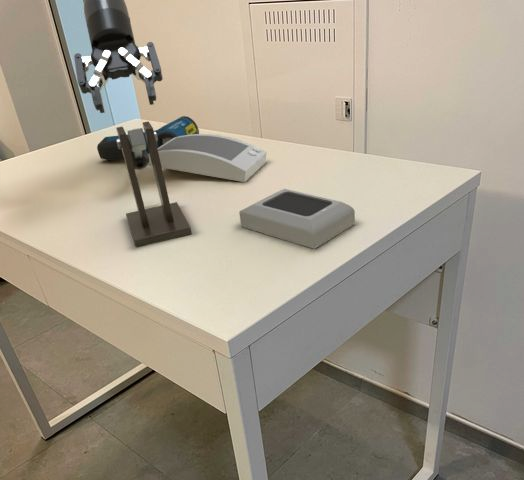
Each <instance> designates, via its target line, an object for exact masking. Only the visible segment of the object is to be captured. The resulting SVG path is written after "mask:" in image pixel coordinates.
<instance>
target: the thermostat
mask: <svg viewBox="0 0 524 480" xmlns="http://www.w3.org/2000/svg"><path fill="white" fill-rule="evenodd" d="M158 153H159V157H160V162H161V166H162V169H167V170H174V171H178V172H185V173H190V174H196V175H201V176H207V177H212V178H220V179H225V180H230V181H235V182H241V183H246V182H247V181H248V180H249V179H250V178H251V177H253V175H254V174H255V173H256V172H257V171H259V170H261V168H262V167H263V166H264V165H265V164H266V163H267V151H266V150H264V149H261V148H260V147H258V146H256V145H254V144H251V143H248V142H246V141H243V140H240V139H237V138H233V137H230V136H226V135H219V134H211V133H199V134H192V135H184V136H179V137H175V138H173V139H171V140H170V141H168V142H167V143H165V144H163V145H162V146H160V147H159V148H158ZM148 155H149V164H148V166H151V167H153V166H152V162H151V158H150V153H149V154H148Z"/></svg>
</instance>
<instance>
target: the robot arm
mask: <svg viewBox="0 0 524 480" xmlns="http://www.w3.org/2000/svg"><path fill="white" fill-rule="evenodd" d="M82 2H83V12H84V13H83V14H84V19H85V23H86V24H85V25H86V28H87V34H88V38H89V43H90V46H91V53H90V55H87V56H86V55H85V56H82V54H81V53H79V52H77V53H75V54H73V55H74V56H73V57H74V58H73V59H74V64H75V72H76V80H77V85H78V87H79V89H80V91H81V93H82V94H83V95H84V94H87V93H89V94H91V98H92V103H93V106H94V109H95V110H96V111H99V113H100V114H105V113H106V112H105V107H104V103H103V98H102V97H103V96H102V93H101V91H102V89H103V87H105V86H106V85H107V83H108V81H109V79H111V80H112V81H113V80H117V79H120V78H130V76H131V75H132V76H133V77H135V78H136V79H137V80H139V81H141V82H143V83H144V85H145V90H146V95H147V98H148V102H149V105H150V106H152V105H155V103H154V102H156V101H157V93H156V88H155V83H156V82H162V81H163V79H164V78H163V74H162V68H161V64H160V63H161V62H160V61H159V56H158V54H157V51H156V47H155V44H154V43H153V42H152V41H148V42H147V43H146V46H142V47H138V46H137V44H136V41H135V36H134V33H133V27H132V24H131V18H130V14H129V11H128V7H127V4H126V2H125V0H82ZM142 57H143V58H144V59H145V60H146V61H147V62H150V64H151V67H152V70H149V69H147V68H146V67H145V66H144V65H143V63H142V62H141V61H140V60H141V58H142ZM91 65H93V67H95V68H94V70H93V75H92V76H91V78H90V79H89V80H88V77H87V72H89V70H90V66H91Z"/></svg>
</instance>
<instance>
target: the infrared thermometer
mask: <svg viewBox="0 0 524 480" xmlns="http://www.w3.org/2000/svg"><path fill="white" fill-rule="evenodd" d="M154 131H156V133H157V137H158V141H156V144H157V148H159V147H160V146H162V145H163V144H165V143H167V142H168V141H170V140H171V139H173V138H175V137H179V136H184V135H192V134H200V129H199V127H198V124H197V123H196V121H194V119H192V118H191V117H190V116H187V115H182V116H180V117H178V118H177V119H174V120H173V121H171V122H169V123H166V124H164V125H163V126H161V127H159V128H158V129H156V130H154ZM143 133H144V136H145V132H144V131H143ZM126 136H127V140H128V144H129V148H130V150H131V145H130V141H129V138H128V133H126ZM116 139H119V137H118V135H111V136H105V137H103V138H102V139H101V141H100V142H99V143H98V144H97V146H96V150H97V154H98V155H99V156H98V157H99V158H100V159H101V160H105V161H111V160H112V161H114V160H124V156H123V152H122V148H121V149H119V148H118V145H117V141H116ZM145 140H146V136H145ZM145 151H146V152H147V153H148V154H149V149H148V145H147V141H146V149H145Z"/></svg>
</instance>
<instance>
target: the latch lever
mask: <svg viewBox="0 0 524 480" xmlns="http://www.w3.org/2000/svg"><path fill="white" fill-rule="evenodd" d="M143 132H144V128H143V127H138V128H134V129H129V130H127V134H128V138H129V141H130V145H131V150H130V152H131V156H132V160H133V164H134V168H135V171H136V170H137V171H141V170H144V169H146V168H147V167H148V166H149V165H148V164H149V155H148V153H147V152H146V151H145V149H146V140H145V136H144V133H143Z"/></svg>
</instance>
